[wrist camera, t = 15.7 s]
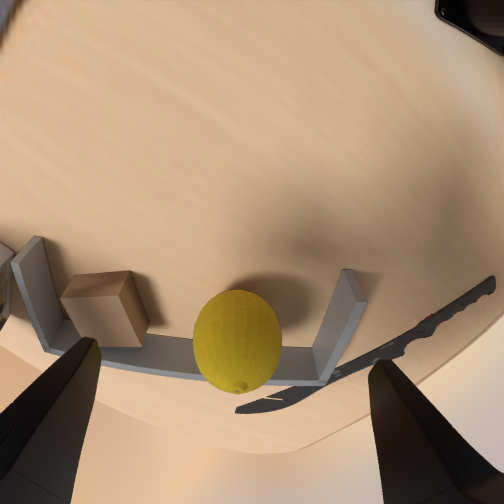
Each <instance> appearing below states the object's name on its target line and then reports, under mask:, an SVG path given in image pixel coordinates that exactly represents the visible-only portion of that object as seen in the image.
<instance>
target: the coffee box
mask: <svg viewBox="0 0 504 504" xmlns="http://www.w3.org/2000/svg"><path fill="white" fill-rule="evenodd" d="M13 258H14V252H13V251H12V250H11V249H9V248H8V247H6V246H4V245H3V244H1V243H0V331H1V329H2V327H3V326H4V324H5V323H6V321H7V319H8V318H9V316H10V301H11V282H12V266H11V263H10V262H11V261H12V260H13Z"/></svg>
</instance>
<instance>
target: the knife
mask: <svg viewBox="0 0 504 504" xmlns="http://www.w3.org/2000/svg"><path fill="white" fill-rule="evenodd" d="M495 289H496V282H495V277H494V276H490V277H489V278H487V279H486V280H484V281H483V282H482V283H480V284H479V285H477V286H476V287H474V288H473V289H471V290H470V291H468V292H467V293H465V294H464V295H462V296H461V297H459V298H458V299H456V300H455V301H453V302H452V303H450V304H449V305H447V306H446V307H444V308H442V309H441V310H439V311H437V312H436V313H434V314H431V315H430V316H428V317H426V318H425V319H424V320H423V321H421V322H419V324H418V325H417V326H416V327H414V328H413V329H411V330H409V331H407V332H406V333H404V334H402V335H400V336H398V337H397V338H395V339H393V340H391V341H389V342H387V343H385V344H383V345H382V346H380V347H378V348H376V349H374V350H372V351H370V352H368V353H366V354H364V355H362V356H360V357H358V358H356V359H354V360H352V361H350V362H348V363H345V364H343V365H341V366H339V367H337V368H335V369H334V371H333V372H332V374H331V376H330V378H329V380H328V381H327V383H326V385H325V386H293V387H290V388H288V389H285V390H283V391H280V392H278V393H275V394H272V395H270V396H267V397H269V398H278V399H283V400H273V399H264V398H262V399H259V400H256V401H253V402H251V403H248V404H245V405H242V406H239V407H236V411H235V413H238V414H252V413H264V412H270V411H275V410H279V409H283V408H286V407H289V406H291V405H294V404H296V403H298V402H299V401H301V400H303V399H305V398H306V397H308V396H310V395H311V394H313V393H315V392H316V391H318V390H320V389H322V388H324V387H326V386H327V385H329V384H331V383H333V382H335V381H337V380H339V379H342V378H344V377H346V376H348V375H350V374H353V373H355V372H357V371H359V370H362V369H364V368H366V367H369V366H371V365H374V364H375V363H376V361H377V360H378V359H383V358H389V359H391V360H392V359H395V358H398V357H400V356H403V355H404V354H405V353H404V349H405V347H406V346H407V344H409V343H410V342H411V341H413V340H415V339H418V338H426V337H429V336H432V335H433V333H434V331H435V329H436V327H437V326H438V325H439V324H440V323H442V322H443V321H446V320H448V319H450V318H451V317H452V316H453V315H454V314H455V313H457V312H460V311H463V310H464V309H465V308H466V307H467V306H468V305H469V304H471V303H475V302H476V301H477V300H478V299H479V298H480V297H481V296H482V295H485V294H488V295H490V294H492V293H493V292H494V291H495ZM491 291H492V292H491ZM402 353H403V354H402ZM401 354H402V355H401Z"/></svg>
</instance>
